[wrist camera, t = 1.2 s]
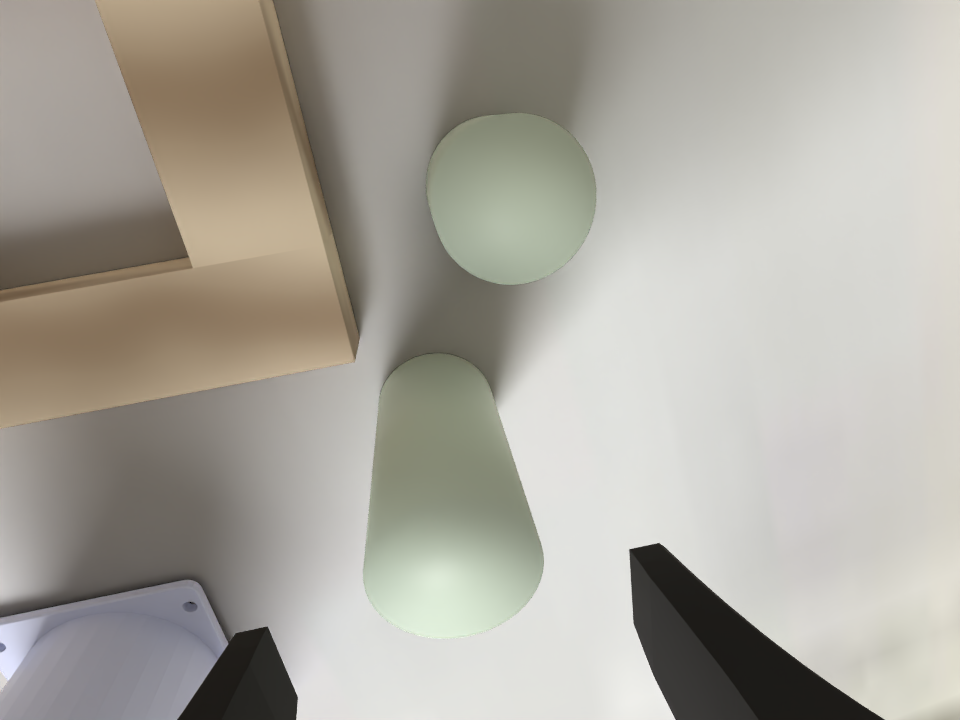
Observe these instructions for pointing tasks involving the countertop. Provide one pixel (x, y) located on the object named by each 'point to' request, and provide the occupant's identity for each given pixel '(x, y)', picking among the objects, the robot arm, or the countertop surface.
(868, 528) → the countertop surface
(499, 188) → the short peg
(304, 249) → the hole board
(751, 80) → the countertop surface
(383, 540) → the tall peg
